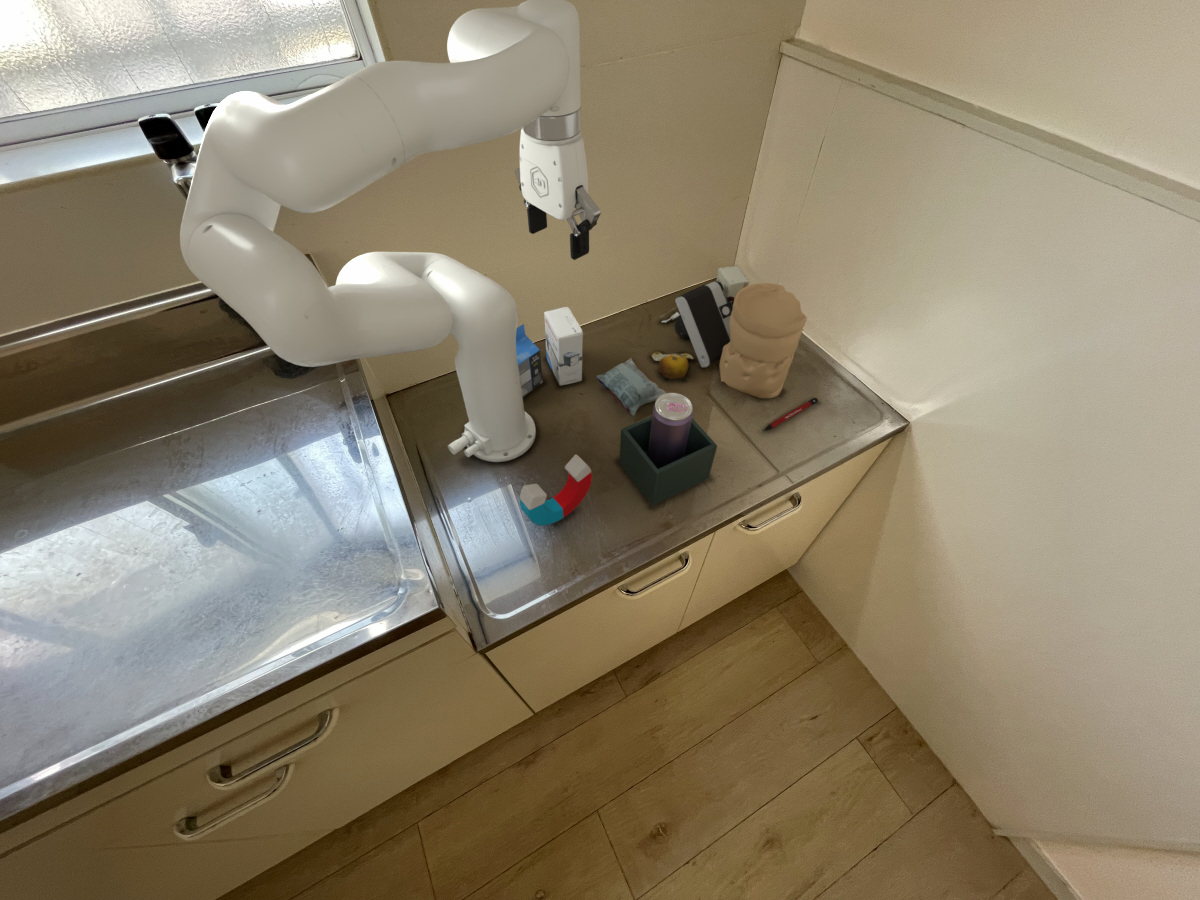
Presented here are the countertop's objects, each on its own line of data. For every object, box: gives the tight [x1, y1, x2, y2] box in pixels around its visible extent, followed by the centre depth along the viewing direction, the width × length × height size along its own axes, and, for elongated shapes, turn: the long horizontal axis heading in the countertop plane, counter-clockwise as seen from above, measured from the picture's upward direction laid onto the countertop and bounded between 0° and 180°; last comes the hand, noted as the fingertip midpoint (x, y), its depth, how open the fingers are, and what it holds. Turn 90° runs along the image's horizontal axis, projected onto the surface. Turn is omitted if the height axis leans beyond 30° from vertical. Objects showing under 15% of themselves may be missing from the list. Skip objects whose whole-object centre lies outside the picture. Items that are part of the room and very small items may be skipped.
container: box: [718, 282, 808, 399], centre depth 103 cm, size 13×13×18 cm
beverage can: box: [648, 392, 694, 469], centre depth 90 cm, size 6×6×15 cm
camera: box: [674, 280, 733, 368], centre depth 114 cm, size 15×11×10 cm
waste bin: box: [618, 415, 718, 507], centre depth 93 cm, size 11×10×9 cm
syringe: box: [659, 308, 681, 324], centre depth 123 cm, size 10×2×2 cm
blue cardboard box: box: [516, 323, 544, 398], centre depth 103 cm, size 9×4×12 cm, turn 140°
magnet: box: [519, 454, 593, 527], centre depth 87 cm, size 12×3×10 cm, turn 129°
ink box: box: [543, 306, 584, 386], centre depth 108 cm, size 9×5×12 cm, turn 22°
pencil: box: [762, 397, 819, 432], centre depth 104 cm, size 1×14×1 cm, turn 125°
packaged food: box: [595, 357, 667, 417], centre depth 106 cm, size 9×12×5 cm
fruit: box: [651, 351, 694, 380], centre depth 111 cm, size 8×8×4 cm
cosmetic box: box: [715, 265, 750, 303], centre depth 117 cm, size 6×4×12 cm
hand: (558, 242), depth 86 cm, fingers open, 9 cm apart
